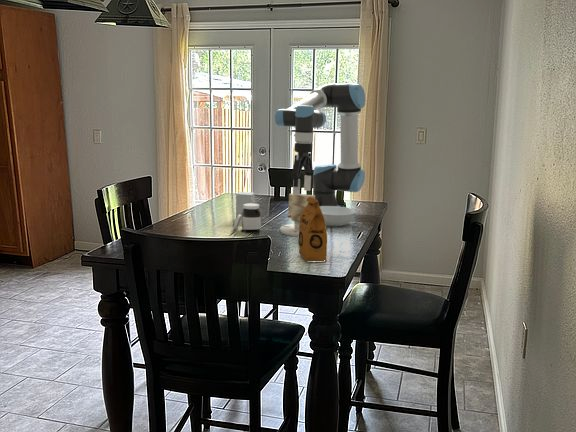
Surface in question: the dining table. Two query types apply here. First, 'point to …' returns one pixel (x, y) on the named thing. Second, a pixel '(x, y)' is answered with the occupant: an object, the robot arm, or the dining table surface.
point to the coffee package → (312, 233)
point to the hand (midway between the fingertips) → (301, 192)
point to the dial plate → (291, 229)
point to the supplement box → (243, 201)
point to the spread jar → (249, 218)
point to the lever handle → (297, 205)
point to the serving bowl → (337, 215)
